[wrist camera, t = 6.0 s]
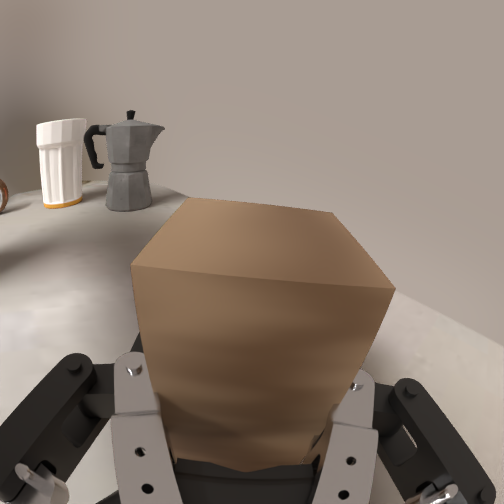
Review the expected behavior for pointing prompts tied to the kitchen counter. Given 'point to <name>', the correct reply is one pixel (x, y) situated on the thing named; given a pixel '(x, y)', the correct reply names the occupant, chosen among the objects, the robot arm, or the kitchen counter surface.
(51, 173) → the cup
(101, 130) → the coffeepot
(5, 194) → the tin
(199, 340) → the walnut block
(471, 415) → the kitchen counter surface
